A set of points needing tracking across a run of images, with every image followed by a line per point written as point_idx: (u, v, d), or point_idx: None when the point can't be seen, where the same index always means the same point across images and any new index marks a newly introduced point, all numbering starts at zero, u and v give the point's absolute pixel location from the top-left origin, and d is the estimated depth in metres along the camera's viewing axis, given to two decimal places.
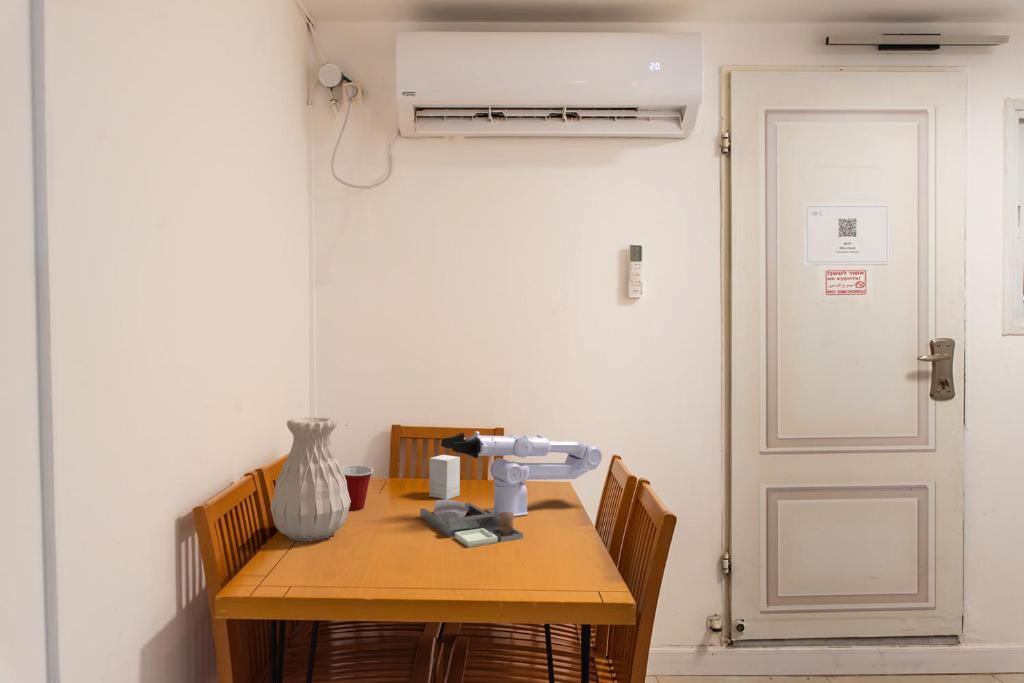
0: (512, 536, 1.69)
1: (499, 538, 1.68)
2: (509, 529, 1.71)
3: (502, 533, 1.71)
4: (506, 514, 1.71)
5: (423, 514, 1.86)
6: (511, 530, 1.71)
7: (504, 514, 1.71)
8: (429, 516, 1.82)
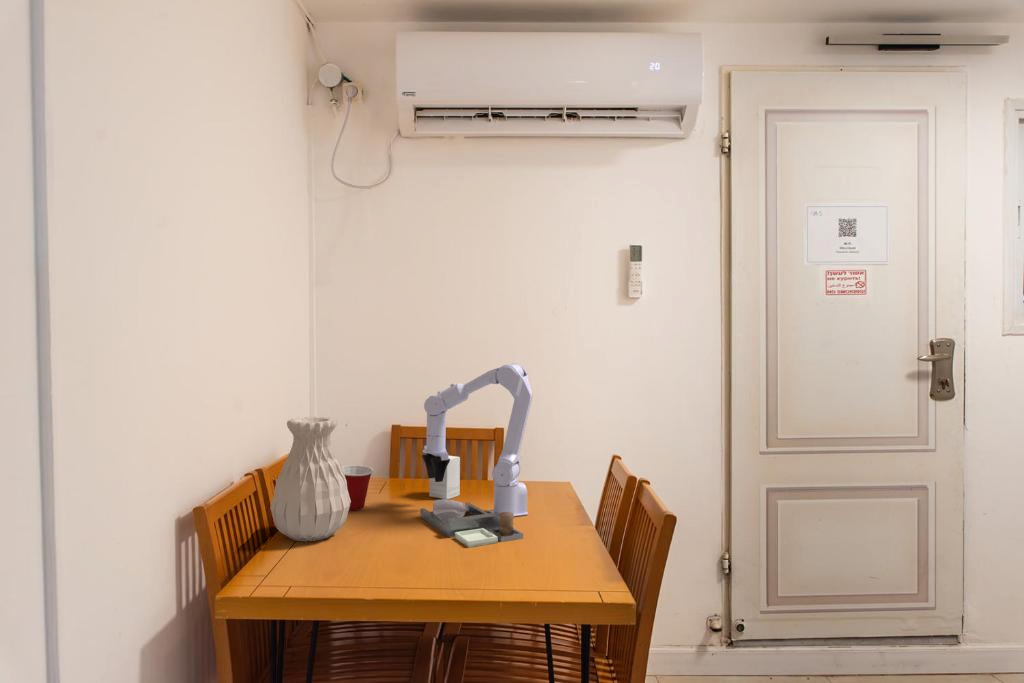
0: (512, 536, 1.69)
1: (499, 538, 1.68)
2: (509, 529, 1.71)
3: (502, 533, 1.71)
4: (506, 514, 1.71)
5: (423, 514, 1.86)
6: (511, 530, 1.71)
7: (504, 514, 1.71)
8: (429, 516, 1.82)
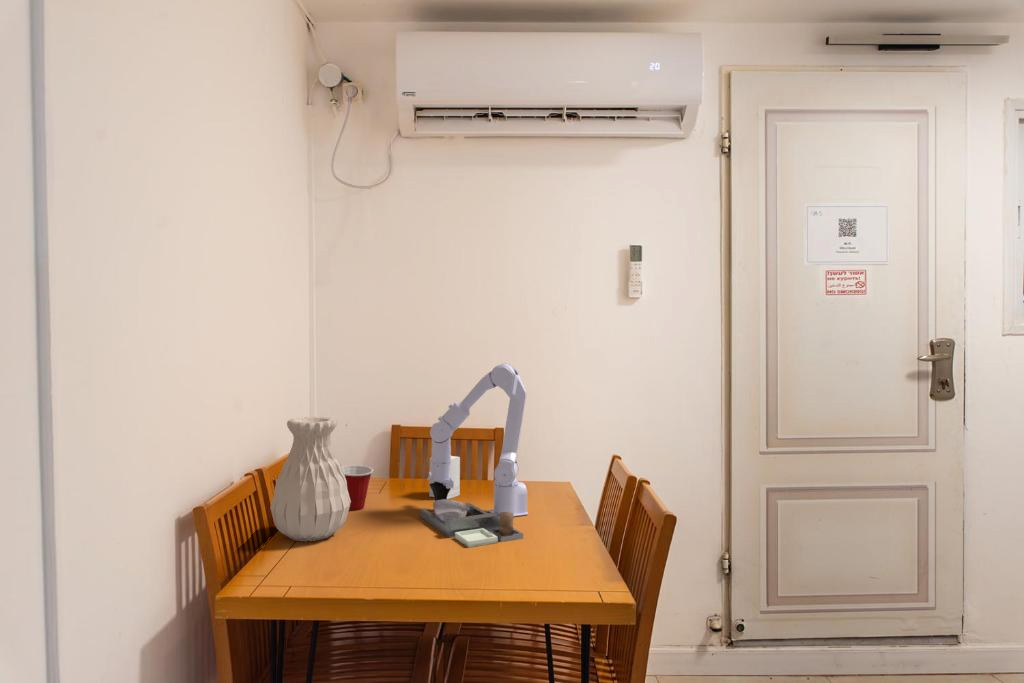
0: (512, 536, 1.69)
1: (499, 538, 1.68)
2: (509, 529, 1.71)
3: (502, 533, 1.71)
4: (506, 514, 1.71)
5: (423, 514, 1.86)
6: (511, 530, 1.71)
7: (504, 514, 1.71)
8: (429, 516, 1.82)
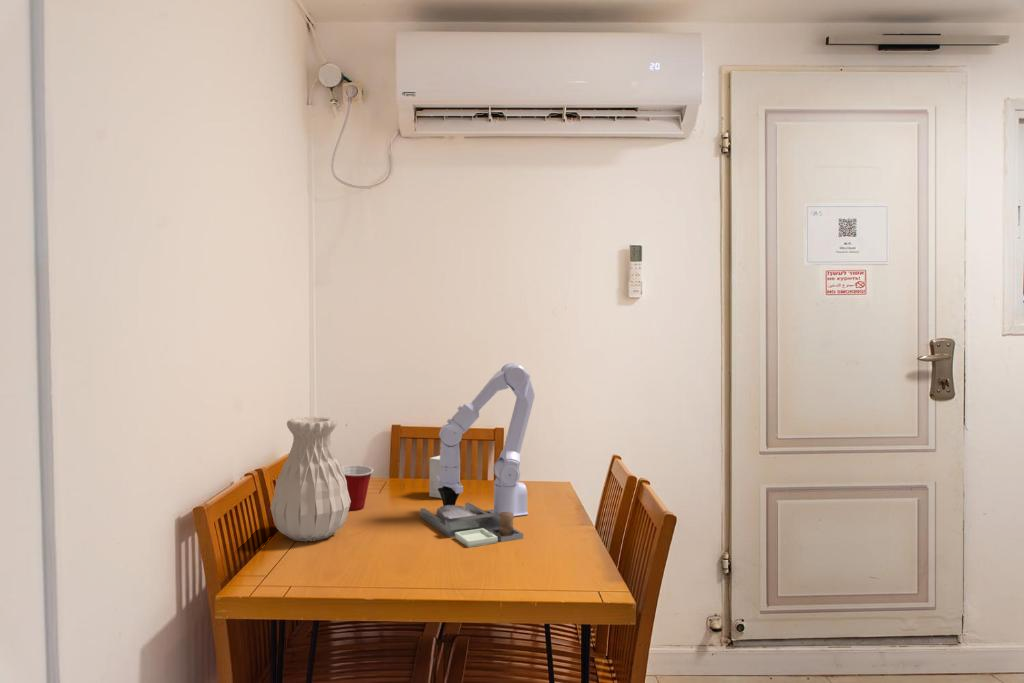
0: (512, 536, 1.69)
1: (499, 538, 1.68)
2: (509, 529, 1.71)
3: (502, 533, 1.71)
4: (506, 514, 1.71)
5: (423, 514, 1.86)
6: (511, 530, 1.71)
7: (504, 514, 1.71)
8: (429, 516, 1.82)
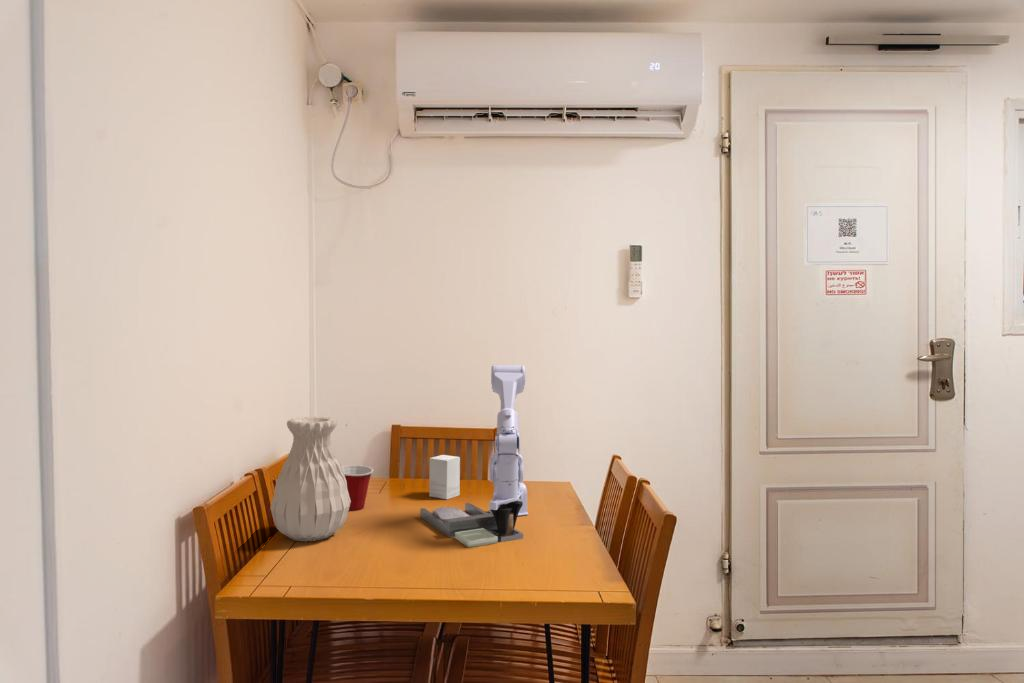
0: (512, 536, 1.69)
1: (499, 538, 1.68)
2: (509, 529, 1.71)
3: None
4: None
5: (423, 514, 1.86)
6: (511, 530, 1.71)
7: None
8: (429, 516, 1.82)
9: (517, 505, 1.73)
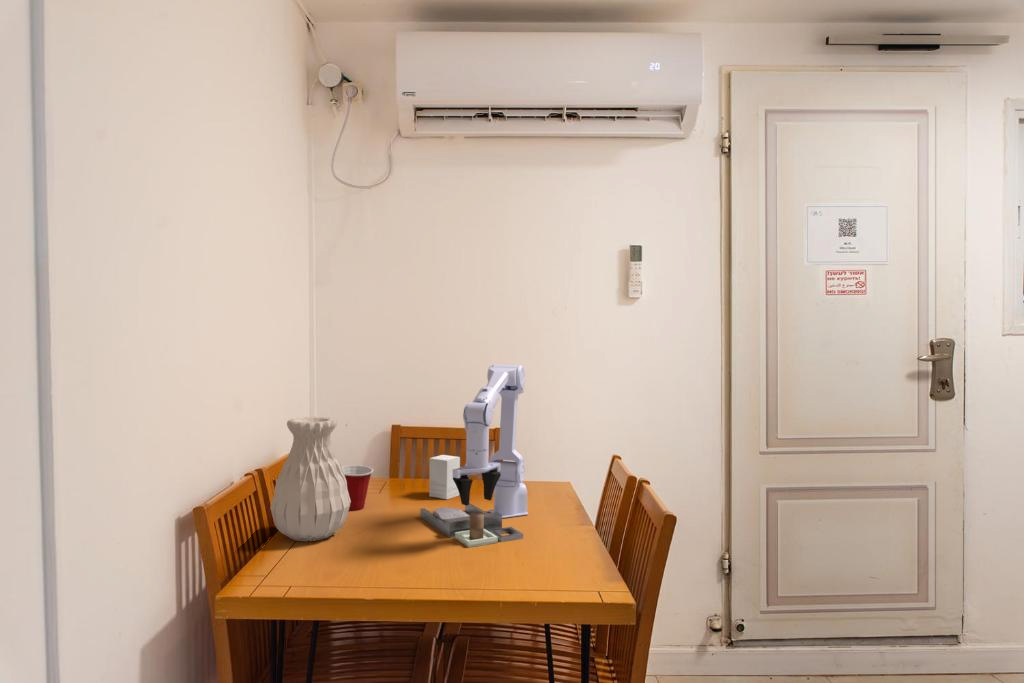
0: (512, 536, 1.69)
1: (499, 538, 1.68)
2: (477, 531, 1.67)
3: (470, 534, 1.67)
4: (475, 515, 1.68)
5: (423, 514, 1.86)
6: (480, 532, 1.67)
7: (473, 515, 1.68)
8: (429, 516, 1.82)
9: (493, 475, 1.69)
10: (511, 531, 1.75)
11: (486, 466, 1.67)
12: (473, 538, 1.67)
